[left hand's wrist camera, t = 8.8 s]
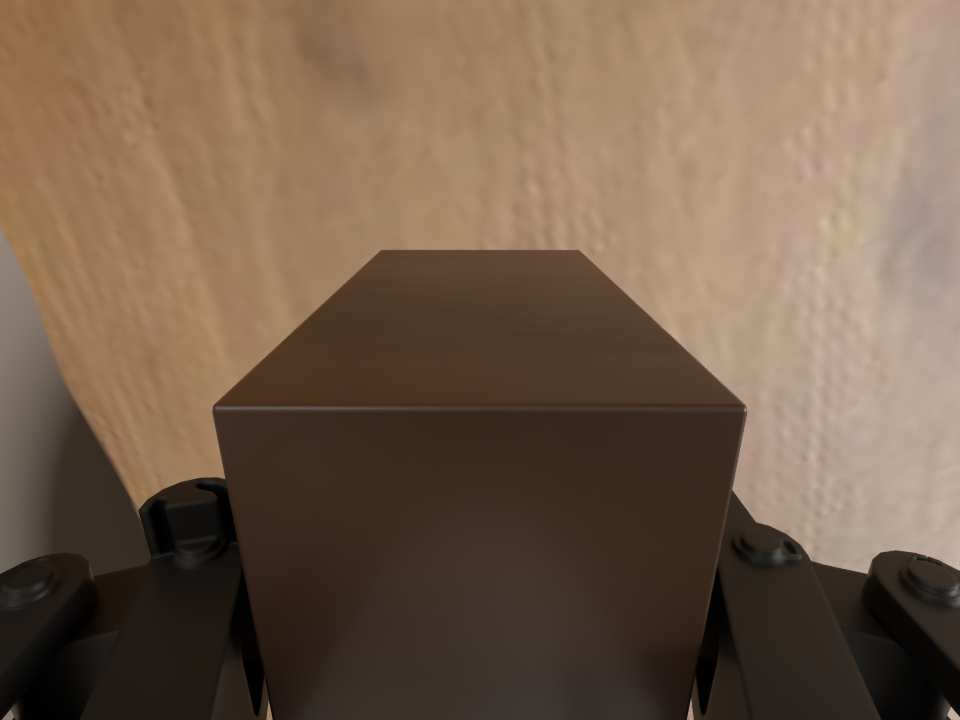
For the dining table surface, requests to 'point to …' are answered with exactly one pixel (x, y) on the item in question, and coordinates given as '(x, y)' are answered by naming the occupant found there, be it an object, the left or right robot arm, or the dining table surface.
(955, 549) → the dining table surface
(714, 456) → the beam
